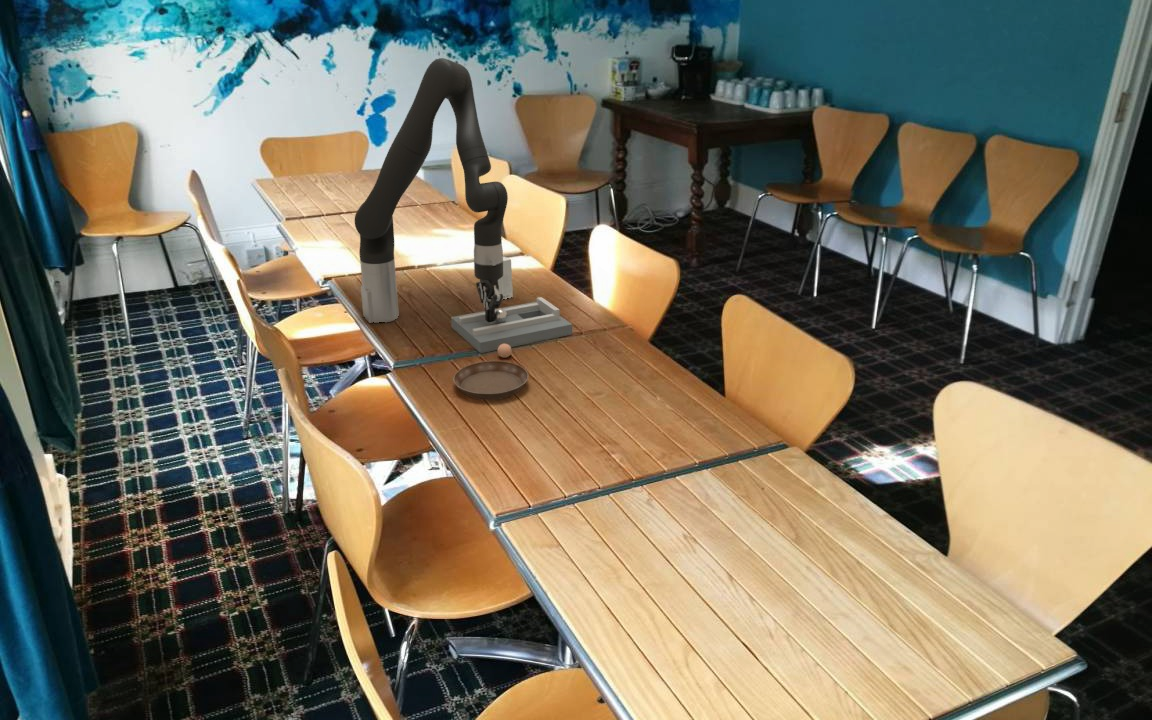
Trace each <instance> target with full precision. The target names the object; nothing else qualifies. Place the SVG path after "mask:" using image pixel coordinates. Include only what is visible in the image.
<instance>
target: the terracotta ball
mask: <svg viewBox="0 0 1152 720" xmlns="http://www.w3.org/2000/svg"><path fill="white" fill-rule="evenodd" d="M496 351H497V354H498V355H499V357H501V358H502V359H503V358H509V356H511V354H512V352H513V351H512V347H510V346H509V345H508V344H501V345H500V346H499V347H498V350H496Z"/></svg>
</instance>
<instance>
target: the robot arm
mask: <svg viewBox="0 0 1152 720" xmlns="http://www.w3.org/2000/svg"><path fill="white" fill-rule="evenodd" d="M474 93H475V92H474V88H473V82H472V78H471V75H470V72H469V70H468V69H467V68H466V67H465V66H464V65H463V64H461V63H458V62H456V61H453V60H450V59H447V58H443V57H439V58H436V59H434V60H433V61H432V62H430V64H429V65H428V67H427V68H426V70H425V71H424V74H423V77H422V79H421V81H420V84H419V87H418V90H417V92H416V94H415V97H414V99H413V102H412V104H411V106H410V108H409V110H408V112H407V114H406V116H405V118H404V120H403V123H402V124H401V127H400V128H399V130H398V132H397V134H396V135H395V137H394V139H393V141H392V143H391V145H390V147H389V149H388V151H387V154H386V155H385V157H384V161H383V162H382V165H381V168H380V171H379V174H378V176H377V178H376V181H375V183H374V186H373V187H372V189H371V191H370V193H369V195H368V196H367V198H366V199H365V201H364V202H363V203H362V204H361V205H360V206H359V208H358V209H357V211H356V212H355V215H354V226H355V230H356V231H357V233H358V235H359V239H360V240H359V241H360V242H359V259H360V260H359V263H360V272H361V282H362V284H360V295H361V303H362V304H361V305H362V314H363V315H362V316H363V317H365V318H364V319H365V320H366V321H367V322H368V323H370V324H372V323H373V322H374V323H373V324H375V323H376V324H377V323H378V324H380V323H379V322H385V323H390V322H393V321H396V320H397V319H399V317H398V316H400V315H399V310H400V309H399V300H398V299H399V298H398V288H397V287H398V286H397V275H396V261H395V232H394V230H395V229H394V217H393V215H394V213H395V211H396V208H397V206H398V203H399V201H400V200H401V198H402V196H403V195H404V193H405V192H406V191H407V189H408V188H409V187H410V185H411V184H412V183H413V181H414V179H415V177H416V176H417V174H418V173H419V171H420V170H421V168H422V166H423V164H424V162H425V161H426V159H427V157H428V155H429V153H430V151H431V149H432V142H433V131H434V130H433V128H434V121H435V118H436V115H437V113H438V112H439V109H440V108H441V106H442V104H443V102H444V101H445V99H447V100H448V102H449V103H450V106H451V108H452V111H453V115H454V117H455V122H456V128H455V129H456V132H455V133H456V134H455V142H456V143H455V144H456V149H457V153H458V157H459V159H460V163H461V166H462V170H463V175H464V193H465V194H464V196H465V202H466V204H467V207H468V208H469V209H470V211H472V212H474V213H483V212H486V215H484V217H482V218H480V219H478V220H476V221H475V222H474V224H473V239H474V240H473V241H474V246H473V265H474V267H473V269H474V270H473V271H474V277H475V278H476V279H478V280H479V281H478V282H476V283H475V286H476V289H477V293H478V296H479V299H480V302H481V304H483V307H484V311H485V320H486V321H487V322H494V321H495V309H499V308H500V306H501V304H502V301H503V300H502V299H503V294H499V292H498V291H499V285H498V280H499V279H500V278H502V276H503V256H504V249H503V245H502V244H503V243H502V239H503V238H502V227H503V222H504V218H505V215H506V209H507V206H508V201H509V200H508V199H509V197H508V195H509V194H508V190H507V188H506V186H505V184H503V183H502V182H500V181H489V182H482V183H481V182H480V178H481V177H483V176H484V175H487V174H488V173H490V172H491V169H492V163H491V161H490V157H489V155H488V152H487V148H486V145H485V142H484V139H483V135H482V132H481V128H480V127H481V126H480V124H479V118H478V113H477V107H476V102H475V96H474ZM395 319H396V320H395Z"/></svg>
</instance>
